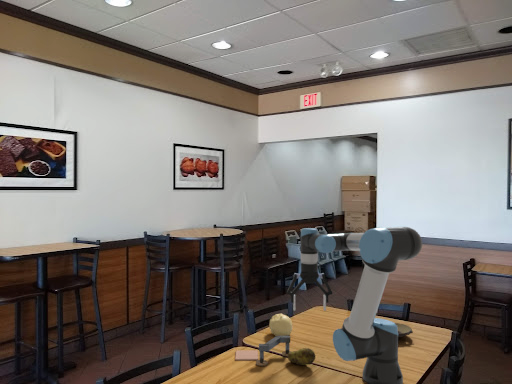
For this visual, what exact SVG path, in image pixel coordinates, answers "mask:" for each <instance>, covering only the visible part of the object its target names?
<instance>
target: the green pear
mask: <svg viewBox="0 0 512 384" xmlns="http://www.w3.org/2000/svg"><path fill="white" fill-rule="evenodd" d="M287 359H288V361H289V362H290V363H293V364H296V365H299V366H307V365H309V366H310V365H312V364H313V363H314V362H315V360H316V354H315V351H313V349H311V348H309V347H308V348H307V347H303V348H300V349H297V350H293V351H291V352H290V353H289V354H288V357H287Z"/></svg>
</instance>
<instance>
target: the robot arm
mask: <svg viewBox="0 0 512 384" xmlns="http://www.w3.org/2000/svg"><path fill="white" fill-rule="evenodd" d="M422 239H423V238H422V237H421V235H420V234H419V232H418V231H416V230H415V229H413V228H411V227H408V226H396V227H395V226H394V227H391V226H390V227H382V226H381V227H380V226H379V227H375V228H370V229H367V230H366V231H365V232H347V233H346V232H345V233H327V234H323V233H322V234H321V233H318V229H317V228H311V227H308V228H307V227H305V228H302V229H301V230H300V262H301V263H300V273H296V272H293V273H294V274H293V278H292V280H291V282H290V284H289V286H288V289H287V290H286V294H287V295H289V296H290V303H291V304H292V305H293V311H294V312H295V311H296V293H297V292H298V290H300V288H301V287H302V286H303V285H304V284H305V285H308V284H311V285H313V284H316V286H317V287H318V288H319V289H320V290H321V291H322V293H323V307H322V308H323V311H324V312H326V311H327V303H329V296H331V295H333V291H332V289H331V287H330V285H329V283H328V282H327V280H326V275H325V273H324V272H322V273H319V271H318V270H319V269H318V268H319V265H318V261H319V260H318V259H319V258H318V257H319V256H318V255H319V254H318V253H319V252H320V253H322V254H330V253H332V252H342V251H347V252H348V251H351V252H352V251H353V252H354V251H356V252H359V254H360V256H361V258H362V259H361V260H362V261H361V262H362V263H363V264H364V268H363V271H362V273H361V277H360V280H359V283H358V287H357V290H356V293H355V294H356V295H355V297H354V300H353V304H352V308H351V311H350V314H349V316H348V317H346V318H345V319H343V322H342V327H341V328H336V329H335V330H334V331H333V333H332V342H333V346H334V349H335V352H336V354H337V355H338V357H339V358H340V359H342V360H343V361H346V362H350V361H351V362H353V361H357V360H362V359H365V358H366V361H365V363H364V366H363V369H362V380H363V381H364V382H365V383H366V384H403V383H404V377H403V373H402V369H401V366H400V364H399V337H398V327H397V325H396V324H395V323H396V322H394V321H391V320H390V319H389V320H388V319H385V318H379V317H376V315H377V312H378V309H379V306H380V303H381V300H382V297H383V294H384V291H385V287H386V285H387V281H388V279H389V275H390V274H392V273H394V272H395V271H396V269H397V266H398V262H399V261H407V260H411V259H414V258H416V257H418V255H419V254H420V252H421V250H422V247H423V240H422ZM299 278H300V279H301V280H300V281H299V283H298V284H296V282H297V279H299ZM318 278H320V279H321V280H322V281H323V283H324V286H325V287H326V289H327V290H326V289H325V288H324V286H323V285H322V284H321V283H320V282H319V281H318ZM295 284H296V286H295ZM294 286H295V287H294Z"/></svg>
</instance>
